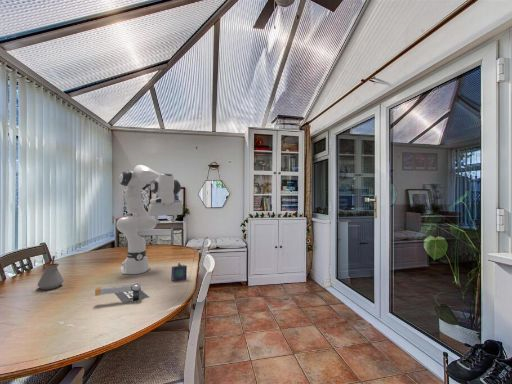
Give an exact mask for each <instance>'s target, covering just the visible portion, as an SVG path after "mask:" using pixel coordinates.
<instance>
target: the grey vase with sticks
mask: <svg viewBox="0 0 512 384" xmlns="http://www.w3.org/2000/svg"><path fill="white" fill-rule="evenodd" d="M51 259H52V260H51V263H48V264H45V265H44V266H43V267H44V271H43V273H42V276H41V277H40V279H39V281H38V283H37V287H38V288H39V289H41V290H45V291H47V290H53V289H57V288H59V287H60V286H61V285H62V284H63V283H64V278H63V276H62V274H61V272H60V271H59V269H58V267H59V265H60V263H55V259H56V255H53V256H52V257H51Z"/></svg>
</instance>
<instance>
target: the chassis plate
mask: <svg viewBox="0 0 512 384" xmlns="http://www.w3.org/2000/svg"><path fill="white" fill-rule="evenodd" d="M113 294H114V295H115V296H116V297H117V299H119V301H120V302H121V303H122V304H123V305H127V304H131V303H134V302H137V301H140V300H141V301H142V300H145V299H149V298H150V296H149V295H148V294H147V293H146V292H144V291H143V290H142V289H141V290H139V300H135V301H134V300H133V298H130V299H129V298H128V297H127V296H126V295H125V294H124V293H123V292H120V293H113ZM131 294H132V293H131ZM127 295H128V294H127Z"/></svg>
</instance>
